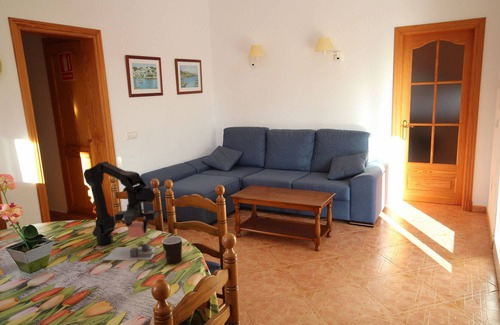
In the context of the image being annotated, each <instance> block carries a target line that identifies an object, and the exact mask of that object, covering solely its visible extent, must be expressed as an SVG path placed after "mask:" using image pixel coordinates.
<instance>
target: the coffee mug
mask: <svg viewBox="0 0 500 325" xmlns="http://www.w3.org/2000/svg"><path fill="white" fill-rule="evenodd" d="M161 243H162V248H163V252H164V255H165V256H164V257H165V261H166V264H168V265H172V264H173V265H177V263H178V264H180V263H181V262H182V257H183V256H182V254H183V237H181V236H180V235H179V236H178V235H173V236H168V237H165V238H163V239H162V240H161ZM179 262H180V263H179ZM173 265H172V266H173Z"/></svg>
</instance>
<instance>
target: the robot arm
mask: <svg viewBox="0 0 500 325" xmlns="http://www.w3.org/2000/svg"><path fill="white" fill-rule="evenodd" d="M104 174H106V175H108V176H109V177H112V178H114V179H116V180H119V182H120V184H121V185H122V186H124V188H123V189H122V191H123V192H126V197H127V198H126V199H127V204H126V210H120V211H118V212H117V213H116V214H114V216H113V215H111V214H110V213H109V211H108V210H109V209H108V206H107V202H106V198H105V194H104V190H103V189H104V188H103V182H104V179H105V176H104ZM83 177H84V180H85V182H86V184H87V185H89V187H90V189H91V193H92V198H93V202H94V206H95V210H96V215H97V216H96V219H95V228H94V229H93V231H92V235H93V237H95V238H96V241H97V242H96V243H97V245H98V246H100V247H104V246H109V245H110V246H111V245H112V244H113V243H114V238H113V235H112V233H113V232H115V227H116V222H117V221H120V222H121V223H124V224H125V225H126V227H127V228H128V227H129V226H130V225H131V224H132V223H133V222H136V220H137V219H139V218H143V220H142V222H143V223H144V233H146V231H148V227H149V223H150V222H151V221H153V220H155V219H157V218H158V216H159V213H158V210H155V209H153V210H148V211H147V212H144V209H143V205H142V204H143V203H148V204H152V203H153V202H154V200H155V197H156V193H155V192H154V190H152V189H151V187H150V186H147V184H146V182H145V181H144V180H143V179H142V177H141V176H140V174H139V173H138V172H136V171H130V170H125V169H122V168H120V167H118V166H116V165H113V164H111V163H110V162H109V161H101V162H98V163H97V164H96V165H94V166H92V167H90V168H87V169H85V170H84V172H83ZM146 234H147V233H146Z"/></svg>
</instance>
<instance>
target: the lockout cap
mask: <svg viewBox="0 0 500 325" xmlns="http://www.w3.org/2000/svg"><path fill="white" fill-rule="evenodd" d="M127 229H128V236H129V237H128V238H143V237H144V236H145V235H147V233H148V230H147V231H146V233H144V223H143V221H133V222H132V224H131V225H130V226H129V227H127Z"/></svg>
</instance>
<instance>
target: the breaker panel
mask: <svg viewBox="0 0 500 325" xmlns="http://www.w3.org/2000/svg"><path fill="white" fill-rule="evenodd" d="M137 247H138V253H139V254H138V255H137V256H136V257H131V255H130V250H131V249H132V248H137ZM160 249H161V246H159V245H156V246H149V249H148V250H147V251H142V247H141V246H136V247H133V246H131V247H130V246H128V247H125V246H124V247H120V246H119V247H118V246H116V247H115V248H114V249H113V250H112V251H111V252H110V253H108V255H107V256H106V257H105V258H104V259H103V260H104V261H110V260H111V261H114V260H115V261H121V260H127V261H128V260H130V261H131V260H132V261H133V260H134V261H135V260H137V261H139V260H153V258H154V257H155V256H156V254H157V253H158V252H159V251H160Z"/></svg>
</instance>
